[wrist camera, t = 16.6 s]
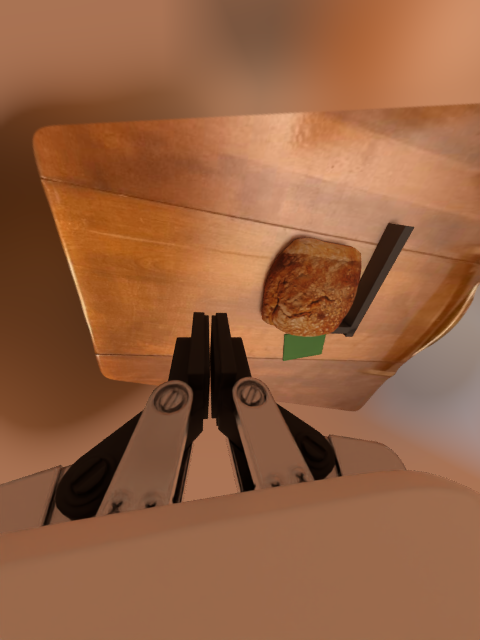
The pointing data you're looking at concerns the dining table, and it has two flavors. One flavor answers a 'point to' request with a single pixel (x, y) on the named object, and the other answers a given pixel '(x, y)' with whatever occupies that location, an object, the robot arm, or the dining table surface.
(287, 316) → the bread
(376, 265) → the corner stop
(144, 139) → the dining table surface
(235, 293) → the dining table surface
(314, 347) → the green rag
